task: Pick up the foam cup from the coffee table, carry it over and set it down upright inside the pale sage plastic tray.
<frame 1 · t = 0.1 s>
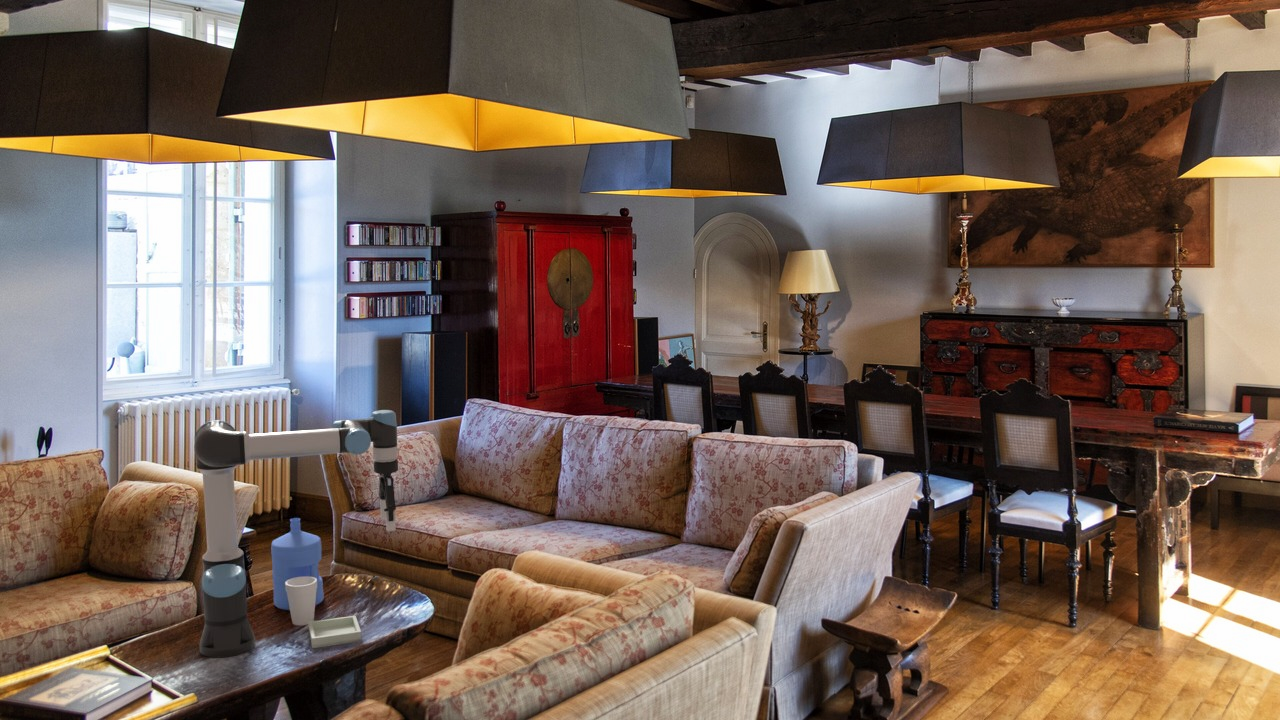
hand: (388, 524, 337), 28 cm above the table, tool pointing down, fingers open, 13 cm apart
tray: (334, 636, 319), on the table
foam cup: (303, 622, 331), on the table
water jug: (299, 603, 348), on the table
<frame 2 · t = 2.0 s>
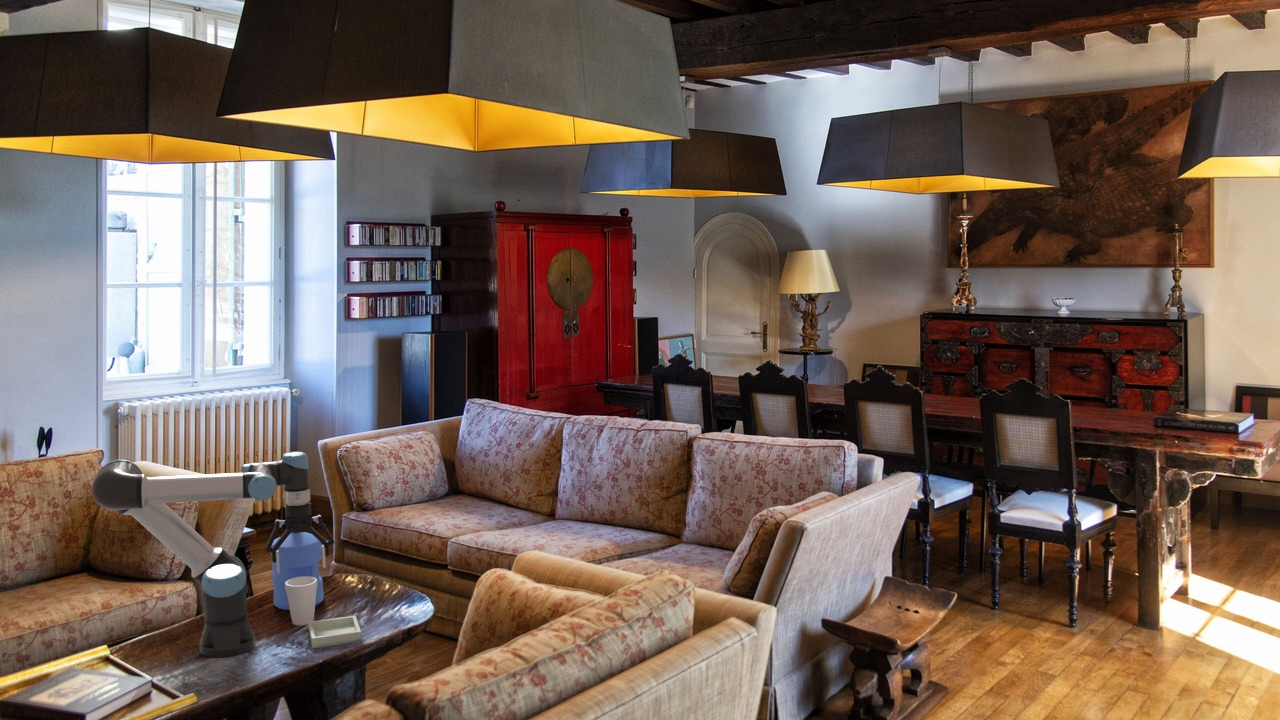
hand: (301, 569, 329), 17 cm above the table, tool pointing down, fingers open, 13 cm apart
nothing on the table moved.
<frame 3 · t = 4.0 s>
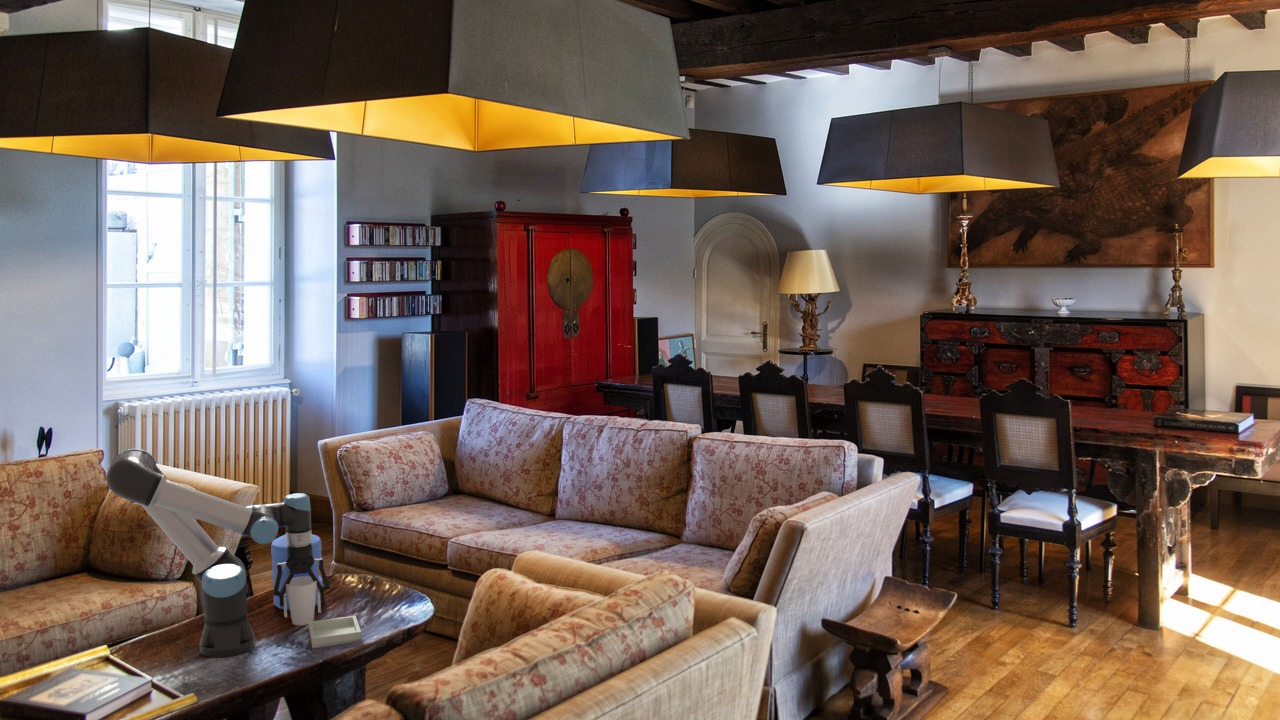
hand: (302, 613, 331), 3 cm above the table, tool pointing down, fingers closed on foam cup, 9 cm apart
foam cup: (303, 622, 331), on the table, touching gripper
everything else where it was.
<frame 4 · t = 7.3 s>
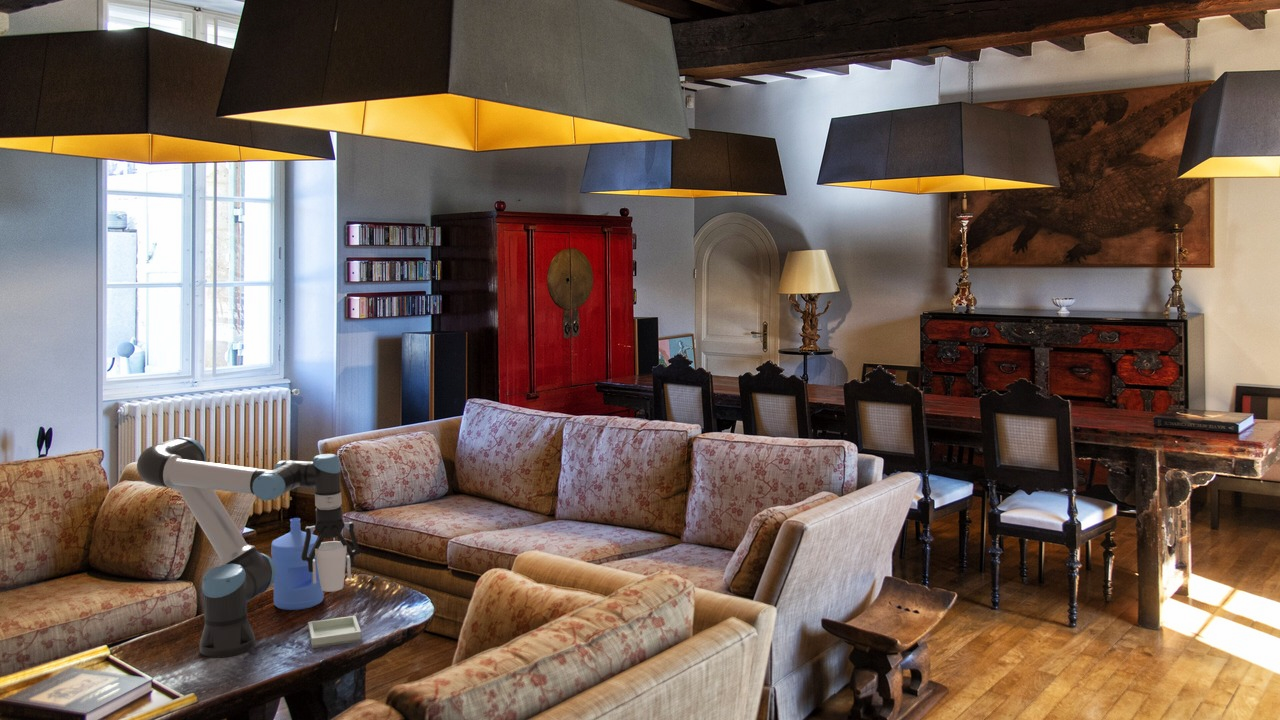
hand: (332, 579, 317), 18 cm above the table, tool pointing down, fingers closed on foam cup, 9 cm apart
foam cup: (332, 588, 317), point 15 cm above the table, touching gripper
everything else where it was.
when the fingers open (5 cm above the table, at t = 10.5 s): foam cup drops 2 cm, resting on tray.
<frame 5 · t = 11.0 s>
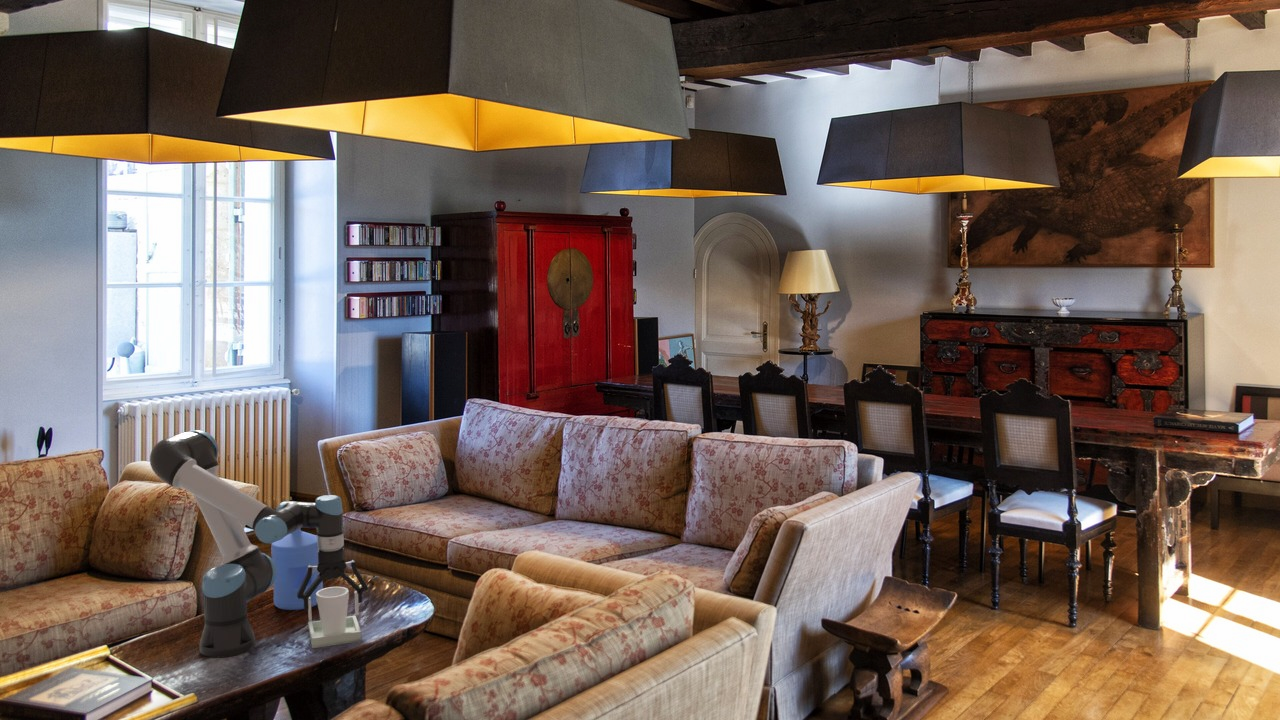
hand: (333, 616, 318), 6 cm above the table, tool pointing down, fingers open, 13 cm apart
foam cup: (334, 634, 319), point 1 cm above the table, touching tray
everything else where it was.
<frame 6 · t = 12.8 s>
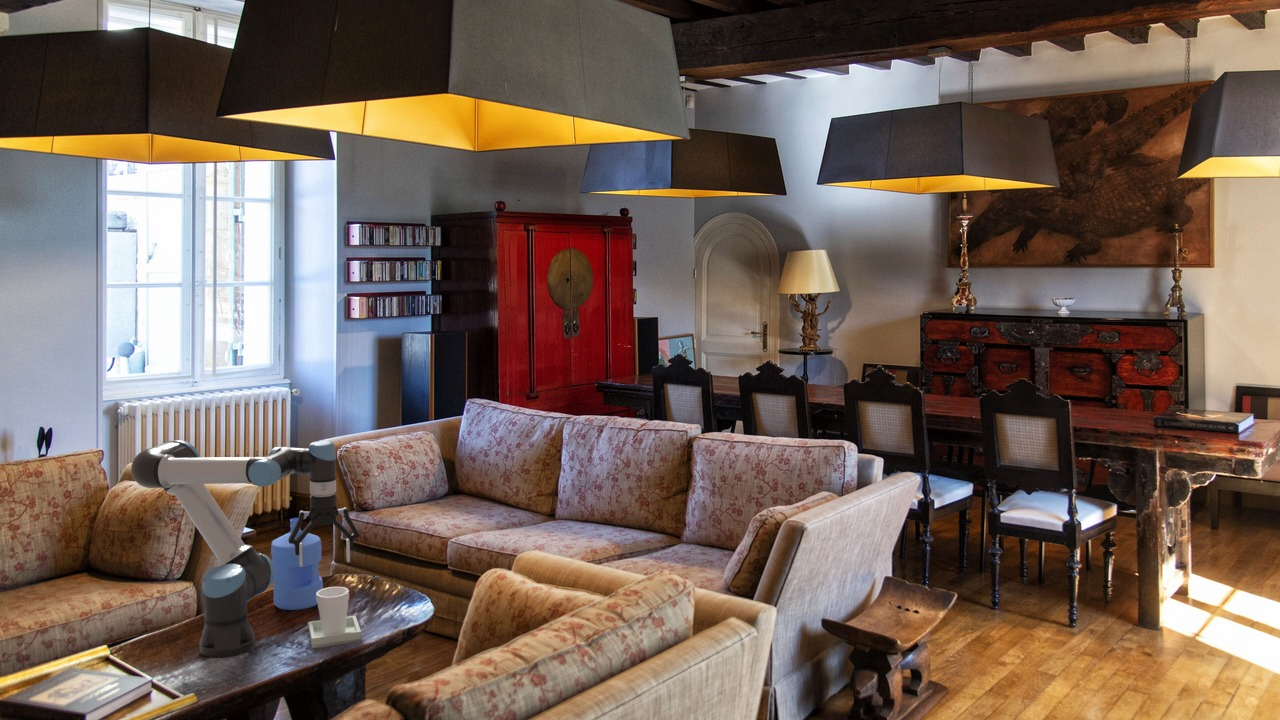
hand: (324, 563, 317), 22 cm above the table, tool pointing down, fingers open, 13 cm apart
nothing on the table moved.
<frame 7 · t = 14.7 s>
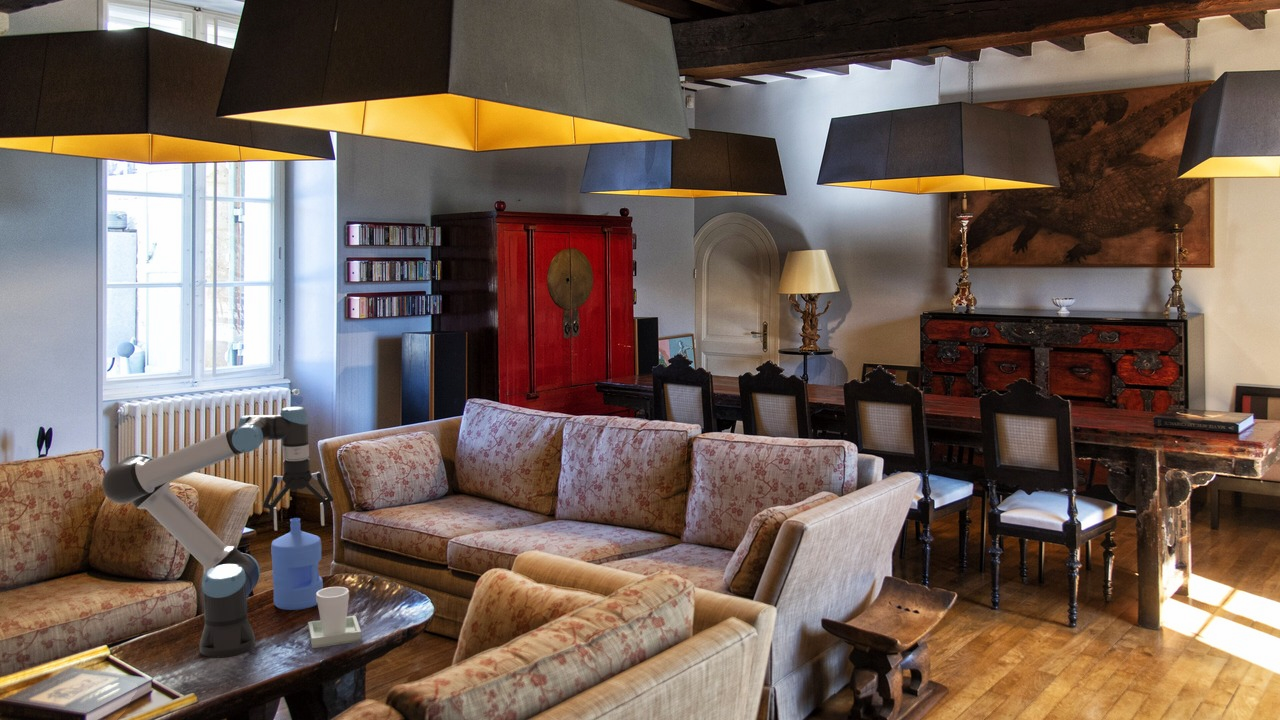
hand: (299, 527, 322), 32 cm above the table, tool pointing down, fingers open, 13 cm apart
nothing on the table moved.
at the end: foam cup 0.1 cm off-centre on the tray, point 0.6 cm above the tray's base; foam cup tilted 0°; the gripper is holding nothing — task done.
